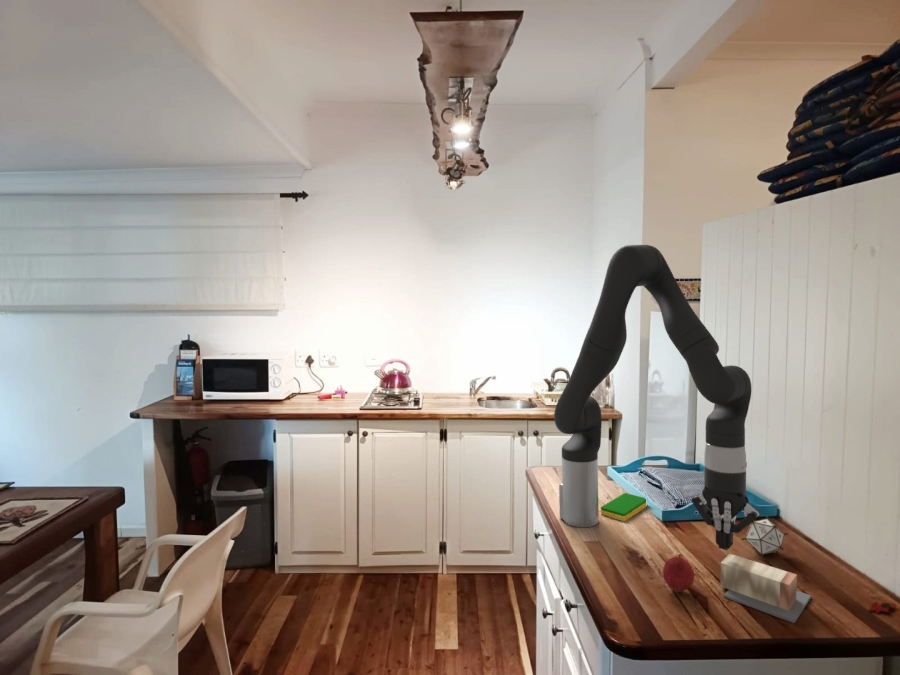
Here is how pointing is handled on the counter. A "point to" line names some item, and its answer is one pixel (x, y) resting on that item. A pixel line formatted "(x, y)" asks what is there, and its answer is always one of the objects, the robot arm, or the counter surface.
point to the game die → (764, 536)
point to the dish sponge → (624, 506)
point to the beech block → (759, 581)
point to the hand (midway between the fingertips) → (724, 547)
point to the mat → (771, 609)
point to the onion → (678, 573)
